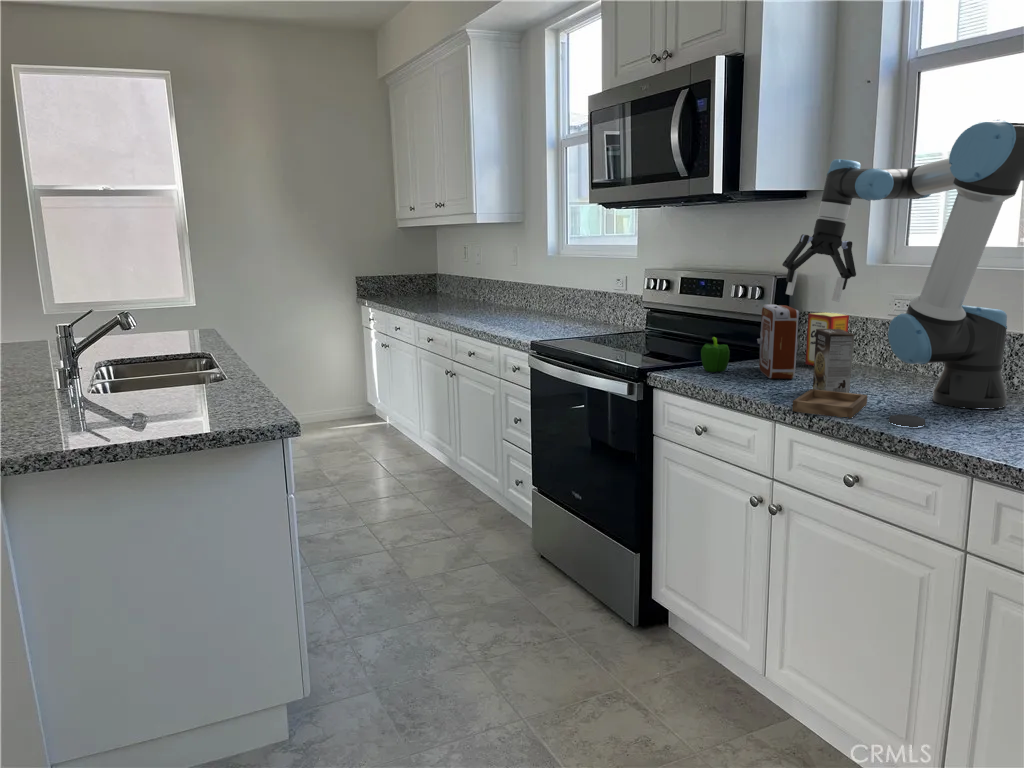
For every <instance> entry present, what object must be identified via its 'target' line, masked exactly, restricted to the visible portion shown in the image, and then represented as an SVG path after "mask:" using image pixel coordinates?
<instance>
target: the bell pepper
mask: <svg viewBox="0 0 1024 768" xmlns="http://www.w3.org/2000/svg"><path fill="white" fill-rule="evenodd" d="M711 340H712V341H713V344H712V343H705V344H704V345H703V346H702V347H701V349H700V358H701V364H702V368H703V369H704V370H705V372H709V373H716V372H717V373H718V372H719V373H720V372H721V373H723V372H725V371H726V370H727V367H728V364H729V360H730V356H731V353H730V352H731V350H730V348H729V346H728V345H729V344H723V343H722V344H719V343H718V338H717V337H715V336H712V338H711Z"/></svg>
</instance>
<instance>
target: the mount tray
mask: <svg viewBox="0 0 1024 768" xmlns="http://www.w3.org/2000/svg"><path fill="white" fill-rule="evenodd" d="M867 404H868V394H861V393H853V392H849V393H844V392H835V391H825V390H816V389H813V388H810V389H809V390H807V391H806V392H803V394H801V395H800V396H798V397H797V398H795V399H793V400H792V407H791V408H792V411H791V412H796V413H804V414H811V415H812V414H813V415H820V416H825V417H826V416H827V417H834V416H837V417H836V418H842V417H849V418H848V419H850V418H852V417H853V416H854V415H855V414H856V413H858V412H859V411H860V410H861V409H862V408H863V407H864V406H865V407H866V406H867ZM865 407H864V408H865ZM864 408H863V409H864ZM863 409H862V410H863ZM862 410H861V411H862ZM861 411H860V412H861ZM860 412H859V413H860ZM859 413H858V414H859ZM856 415H857V414H856ZM856 415H855V416H856ZM855 416H854V417H855ZM854 417H853V418H854ZM853 418H852V419H853Z"/></svg>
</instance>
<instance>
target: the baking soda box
mask: <svg viewBox="0 0 1024 768" xmlns="http://www.w3.org/2000/svg"><path fill="white" fill-rule="evenodd" d="M849 316H850V315H849V314H848V315H847V314H842V313H836V312H834V313H833V312H825V311H824V312H811V313H808V315H807V331H806V332H807V333H806V343H805V345H806V346H805V347H806V348H805V361H804V363H805V365H809V366H813V367H814V359H815V342H816V329H841V330H844V331H847V332H849V331H848V330H849V318H850V317H849Z"/></svg>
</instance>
